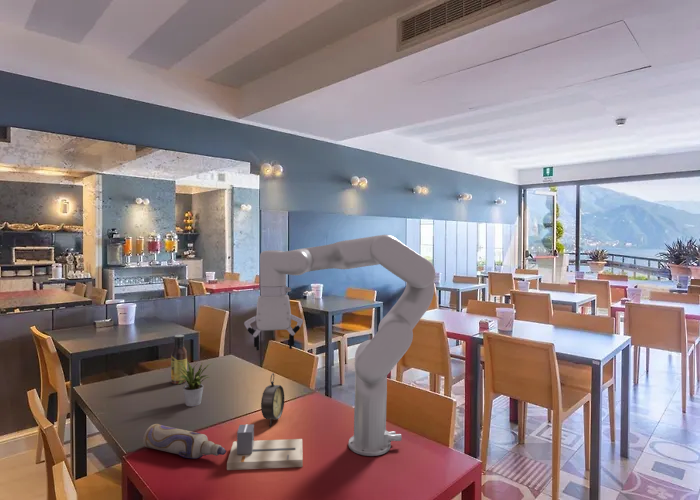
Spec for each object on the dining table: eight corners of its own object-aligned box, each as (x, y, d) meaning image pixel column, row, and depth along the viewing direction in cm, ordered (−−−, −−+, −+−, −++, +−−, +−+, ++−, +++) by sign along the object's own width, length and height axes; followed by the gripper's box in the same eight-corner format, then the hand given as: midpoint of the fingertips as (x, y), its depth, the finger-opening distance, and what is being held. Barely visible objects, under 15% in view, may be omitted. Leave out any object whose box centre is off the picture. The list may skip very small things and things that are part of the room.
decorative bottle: (140, 452, 125) (140, 429, 124) (160, 441, 132) (160, 419, 131) (215, 470, 116) (216, 445, 116) (232, 457, 123) (233, 433, 123)
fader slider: (253, 444, 125) (253, 424, 125) (251, 453, 120) (252, 431, 120) (239, 445, 124) (239, 424, 124) (236, 454, 119) (237, 432, 119)
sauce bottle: (171, 380, 185) (171, 333, 184) (187, 379, 187) (187, 333, 186) (170, 385, 179) (170, 337, 178) (186, 384, 180) (186, 336, 180)
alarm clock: (273, 428, 141) (274, 379, 140) (257, 427, 142) (258, 377, 141) (285, 415, 151) (285, 369, 151) (270, 413, 153) (271, 367, 152)
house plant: (160, 408, 155) (160, 363, 154) (183, 395, 168) (183, 353, 168) (195, 413, 152) (195, 367, 151) (216, 399, 165) (217, 356, 164)
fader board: (302, 445, 130) (302, 438, 130) (302, 466, 118) (302, 459, 118) (233, 448, 128) (233, 441, 128) (226, 470, 116) (226, 462, 116)
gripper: (302, 289, 135) (302, 344, 135) (244, 291, 132) (245, 346, 133) (303, 292, 127) (303, 350, 128) (242, 294, 125) (243, 353, 125)
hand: (274, 348), depth 130 cm, fingers open, 9 cm apart
